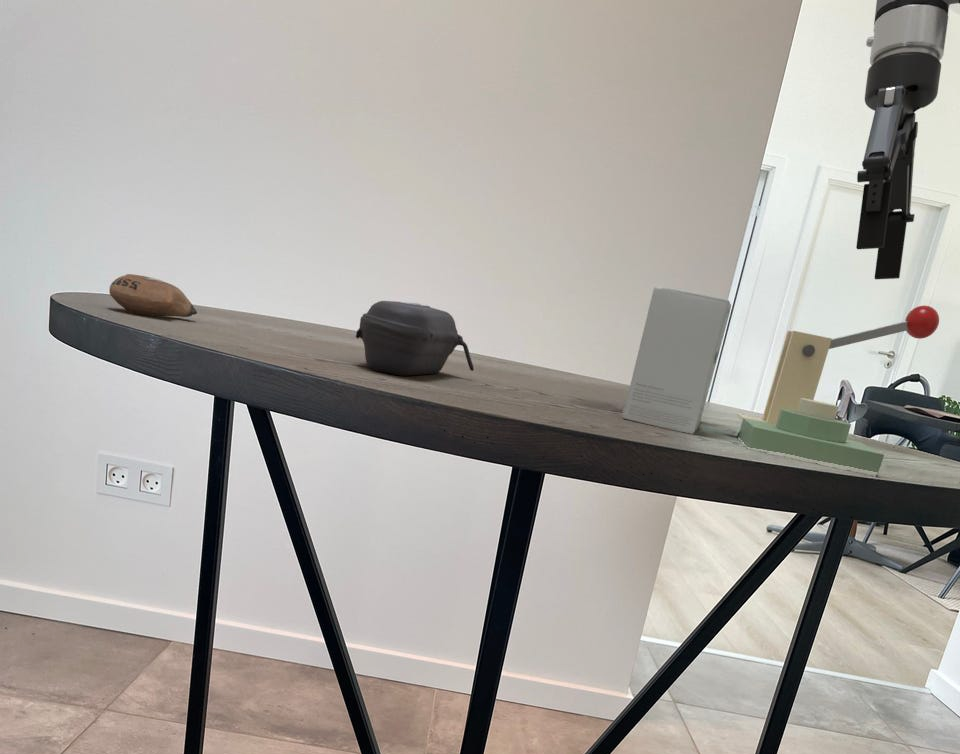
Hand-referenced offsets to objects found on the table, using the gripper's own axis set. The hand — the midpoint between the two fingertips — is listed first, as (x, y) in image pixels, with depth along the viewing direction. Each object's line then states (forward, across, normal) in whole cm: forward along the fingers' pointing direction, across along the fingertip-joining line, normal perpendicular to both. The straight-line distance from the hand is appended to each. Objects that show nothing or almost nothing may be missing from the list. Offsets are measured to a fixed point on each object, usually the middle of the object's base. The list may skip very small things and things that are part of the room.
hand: (878, 264), depth 109 cm
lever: (+9, -1, 0) cm, 10 cm away
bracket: (+19, 0, -9) cm, 21 cm away
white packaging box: (+21, +26, -14) cm, 37 cm away
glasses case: (+18, +37, -38) cm, 56 cm away
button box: (+24, +23, -1) cm, 33 cm away
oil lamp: (+13, +47, -65) cm, 81 cm away
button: (+20, +23, 0) cm, 30 cm away
